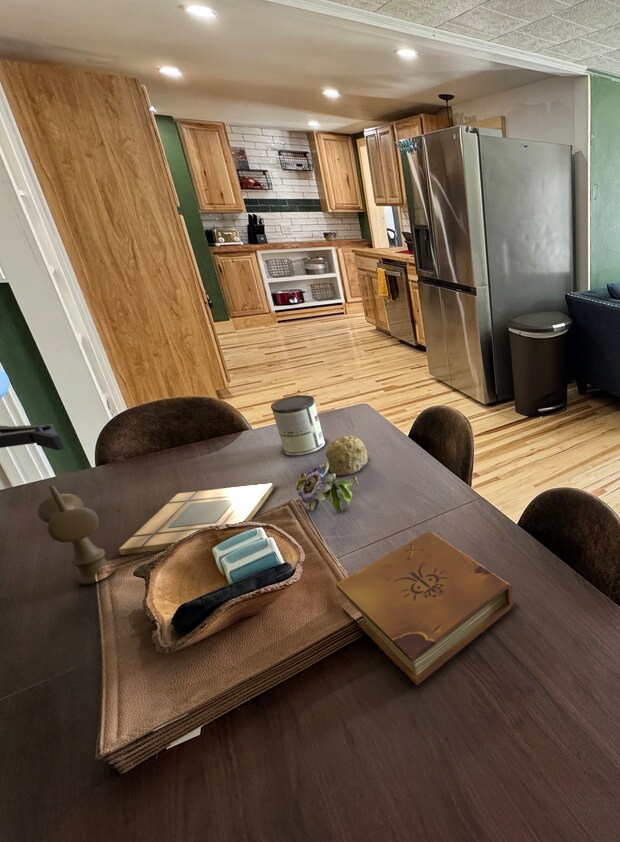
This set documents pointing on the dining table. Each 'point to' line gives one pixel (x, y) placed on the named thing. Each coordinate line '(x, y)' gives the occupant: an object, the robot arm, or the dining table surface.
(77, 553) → the kendama
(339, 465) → the rock
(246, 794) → the dining table surface
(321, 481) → the passion flower
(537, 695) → the dining table surface
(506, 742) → the dining table surface
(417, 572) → the diary
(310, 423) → the coffee can
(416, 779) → the dining table surface
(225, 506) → the board
